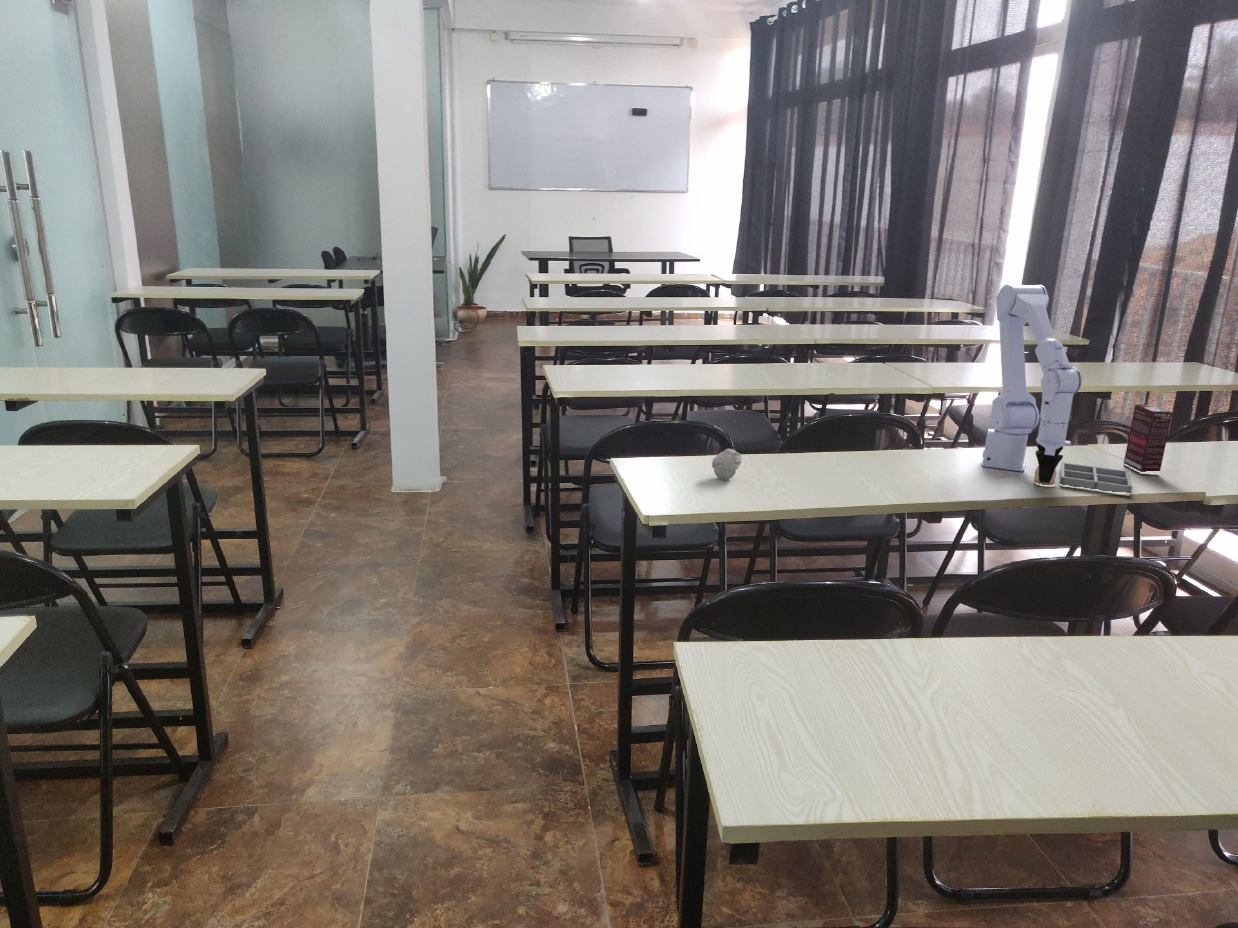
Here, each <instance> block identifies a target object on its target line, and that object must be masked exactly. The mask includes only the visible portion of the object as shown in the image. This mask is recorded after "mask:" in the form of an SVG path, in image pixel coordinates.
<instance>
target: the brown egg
mask: <svg viewBox="0 0 1238 928" xmlns="http://www.w3.org/2000/svg"><path fill="white" fill-rule="evenodd" d="M1056 478H1057V470H1056V469H1055V471H1054V473H1053V476H1052V479H1051V481H1050V483H1043V482H1039V465H1038V466H1037V467H1036V468H1035V471H1034V477H1033V482H1035V483H1038V484H1042V485H1053V484H1054V485H1055V483H1056Z"/></svg>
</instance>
